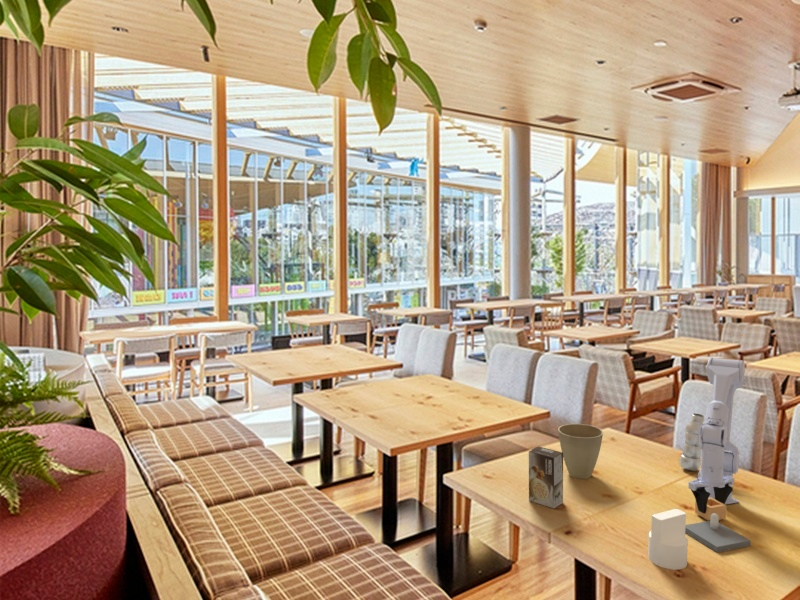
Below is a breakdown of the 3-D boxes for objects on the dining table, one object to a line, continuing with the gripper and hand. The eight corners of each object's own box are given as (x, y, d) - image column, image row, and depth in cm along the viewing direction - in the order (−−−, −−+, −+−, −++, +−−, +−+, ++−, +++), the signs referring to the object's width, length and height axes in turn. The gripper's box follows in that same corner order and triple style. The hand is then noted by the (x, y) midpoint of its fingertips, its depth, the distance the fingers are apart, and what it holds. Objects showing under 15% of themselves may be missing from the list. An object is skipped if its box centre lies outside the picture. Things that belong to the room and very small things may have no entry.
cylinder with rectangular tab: (669, 573, 140) (670, 525, 139) (640, 555, 148) (641, 510, 147) (695, 564, 144) (697, 518, 143) (665, 547, 152) (667, 503, 151)
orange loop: (695, 512, 170) (695, 499, 170) (710, 510, 171) (710, 497, 171) (710, 521, 165) (710, 508, 164) (725, 518, 166) (726, 505, 166)
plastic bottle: (676, 463, 207) (685, 410, 204) (696, 467, 206) (706, 413, 203) (680, 471, 201) (689, 416, 198) (701, 474, 200) (711, 419, 197)
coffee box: (564, 502, 179) (564, 452, 178) (554, 509, 175) (554, 458, 173) (537, 494, 185) (538, 445, 184) (527, 500, 181) (527, 451, 179)
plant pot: (556, 465, 209) (556, 422, 208) (599, 468, 206) (599, 424, 205) (558, 481, 195) (559, 436, 193) (605, 485, 192) (606, 438, 190)
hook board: (682, 530, 160) (682, 510, 160) (714, 524, 163) (714, 505, 163) (716, 552, 149) (717, 531, 148) (750, 545, 152) (751, 524, 151)
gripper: (702, 473, 161) (700, 520, 162) (743, 467, 165) (741, 512, 166) (683, 464, 167) (682, 509, 169) (723, 458, 171) (722, 502, 173)
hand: (710, 510), depth 168 cm, fingers closed on orange loop, 6 cm apart
